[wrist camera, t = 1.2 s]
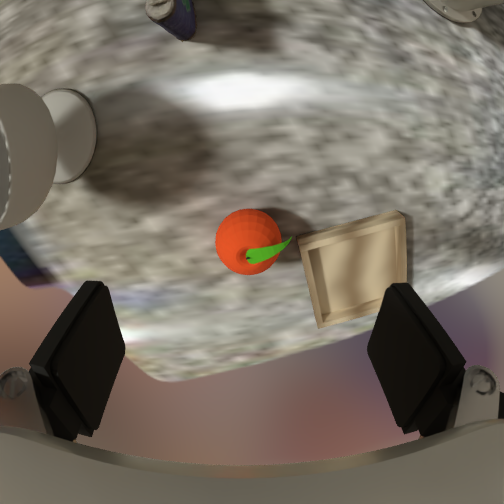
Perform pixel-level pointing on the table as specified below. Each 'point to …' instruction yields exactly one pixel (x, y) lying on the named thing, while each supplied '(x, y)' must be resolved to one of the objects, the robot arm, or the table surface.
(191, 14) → the flask
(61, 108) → the chalice
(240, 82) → the table surface
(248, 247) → the clementine
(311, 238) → the tray
